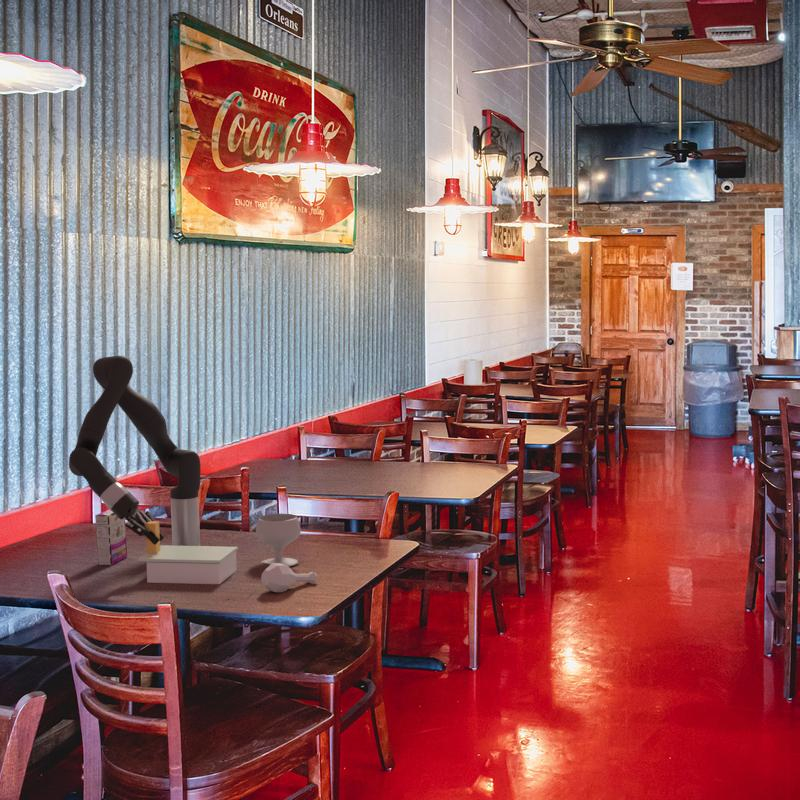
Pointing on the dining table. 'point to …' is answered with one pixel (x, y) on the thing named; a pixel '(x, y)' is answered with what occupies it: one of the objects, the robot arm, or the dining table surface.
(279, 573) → the chicken leg
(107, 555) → the candy bar box
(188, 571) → the tub
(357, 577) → the dining table surface
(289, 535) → the chalice
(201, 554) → the lid
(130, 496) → the robot arm
